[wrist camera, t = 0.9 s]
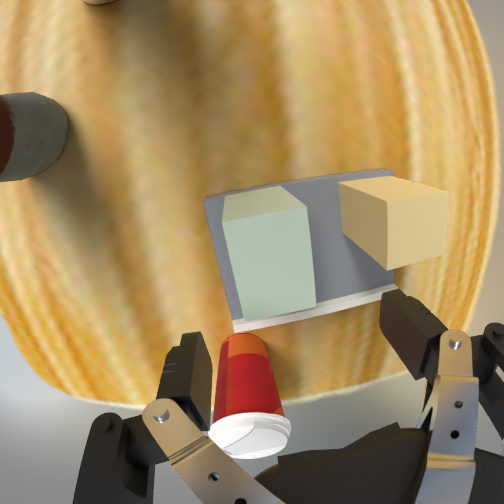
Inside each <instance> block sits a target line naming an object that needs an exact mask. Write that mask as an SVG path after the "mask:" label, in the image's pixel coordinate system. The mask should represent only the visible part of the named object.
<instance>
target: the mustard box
mask: <svg viewBox="0 0 504 504" xmlns="http://www.w3.org/2000/svg"><path fill="white" fill-rule="evenodd" d="M338 189H339V199H340V210H341V223H342V233H344V234H345V235H346V236H347V237H348V238H350V239H351V240H352V241H353V242H354V243H356V244H357V245H358V246H359V247H360V248H362V249H363V250H364V251H365V252H366V253H367V254H369V255H370V256H371V257H372V258H373V259H374V260H375V261H377V262H378V263H379V264H380V265H381V266H382V267H383V268H385V269H386V270H387V271H388V270H391V269H395V268H399V267H403V266H406V265H410V264H414V263H417V262H421V261H424V260H428V259H431V258H435V257H438V256H441V255H445V254H446V247H447V236H448V220H449V192H446V191H443V190H439V189H436V188H433V187H429V186H426V185H423V184H419V183H416V182H412V181H408V180H405V179H401V178H397V177H393V176H384V177H375V178H367V179H359V180H351V181H344V182H338Z"/></svg>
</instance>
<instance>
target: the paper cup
mask: <svg viewBox="0 0 504 504" xmlns="http://www.w3.org/2000/svg"><path fill="white" fill-rule="evenodd" d="M290 432H291V425H290V421H289V420H288V419H287V418H285V416H284V412H283V409H282V405H281V401H280V398H279V394H278V390H277V387H276V383H275V379H274V376H273V372H272V369H271V365H270V361H269V358H268V354H267V351H266V348H265V345H264V343H263V341H262V340H261V339H260V338H259V337H257V336H255V335H253V334H249V333H239V334H235V335H232V336H230V337H228V338H227V339H226V340H225V341H224V342H223V344H222V347H221V351H220V358H219V366H218V375H217V385H216V394H215V404H214V415H213V425H211V427H210V431H209V432H208V433H209V437H210V439H212V440H213V441H214V442H215V443H216V444H217V445H218V446H219V447H220V448H221V449H222V450H223V451H224V452H225V453H226V454H227V455H230V456H231V457H233V458H240V459H253V458H261V457H265V456H269V455H272V454H274V453H277V452H278V451H280V450H282V449H283V448H284V447H285V445H286V443H287V439H288V436H289V435H290Z"/></svg>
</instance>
